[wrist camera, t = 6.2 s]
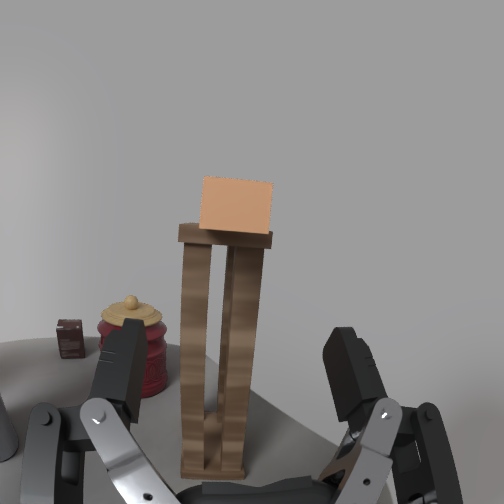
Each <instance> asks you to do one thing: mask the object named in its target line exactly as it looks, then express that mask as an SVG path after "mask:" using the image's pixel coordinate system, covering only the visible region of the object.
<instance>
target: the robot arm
mask: <svg viewBox="0 0 504 504" xmlns="http://www.w3.org/2000/svg"><path fill="white" fill-rule="evenodd" d="M147 355H148V340H147V335H146V330H145V325H144V321H143V320H142V319H133V318H125V319H124V321H123V325H122V329H121V330H115V329H112V331H111V332H110V333H109V334H108V335H107V337H106V338H105V340H104V343H103V347H102V352H101V354H100V358H99V361H98V365H97V369H96V373H95V377H94V381H93V385H92V389H91V393H90V395H89V397H88V399H87V400H86V401H85V402H84V403H83V404H81V405H79V406H76V407H68V408H56V407H55V406H53V405H52V404H49V403H40V404H37V405H36V406H35V407H34V408H33V409H32V411H31V414H30V418H29V424H28V429H27V435H26V441H25V448H24V456H23V465H22V476H21V492H20V504H83V479H84V460H85V451H95V450H97V452H98V454H99V455H100V457H101V459H102V460H103V462H104V464H105V466H106V468H107V472H108V475H109V477H110V479H111V480H112V482H113V483H114V485H115V486H116V488H117V489H118V491H119V492H120V494H121V495H122V497H123V498H124V499H125V501H126V502H127V504H376V502H377V500H378V498H379V496H380V494H381V491H382V489H383V487H384V484H385V482H386V479H387V477H388V475H389V472H390V469H391V468H392V473H393V478H394V484H395V489H396V495H397V501H398V504H463V500H462V495H461V490H460V485H459V480H458V476H457V471H456V467H455V464H454V460H453V455H452V452H451V448H450V444H449V441H448V437H447V435H446V431H445V428H444V424H443V421H442V418H441V415H440V412H439V410H438V408H437V407H436V406H435V405H434V404H432V403H427V402H426V403H423V404H421V405H420V406H419V407H418V408H411V407H403V406H400V405H399V404H398V403H397V402H396V401H395V400H393V399H391V398H388V396H387V394H386V392H385V389H384V386H383V383H382V380H381V378H380V375H379V372H378V369H377V367H376V364H375V361H374V359H373V356H372V353H371V351H370V349H369V346H367V344H366V343H365V342H364V341H363V339H362V338H357V336H356V333H355V331H354V329H353V328H352V327H336V328H334V330H333V332H332V333H331V335H330V337H329V339H328V341H327V342H326V344H325V346H324V348H323V361H324V365H325V369H326V373H327V377H328V380H329V384H330V388H331V392H332V396H333V400H334V404H335V408H336V412H337V416H338V420H339V422H343V421H348V425H349V428H348V430H347V431H346V434H345V436H344V438H343V440H342V442H341V444H340V446H339V448H338V450H337V452H336V454H335V455H334V457H333V459H332V461H331V462H330V463H329V465H328V466H327V467H326V468H325V469H324V470H323V472H322V473H321V475H320V477H319V478H318V480H312V479H311V476H305V477H298V478H289V479H284V480H281V481H278V482H275V483H272V484H269V485H266V486H263V487H252V486H247V485H241V484H236V483H231V482H202V485H197V486H193V487H190V488H188V489H185V490H183V491H181V492H180V493H178V494H177V495H176V494H175V492H174V491H173V490H172V489H171V488H170V486H169V485H168V484H167V483H166V481H165V480H164V479H163V478H162V476H161V475H160V474H159V472H158V471H157V470H156V469H155V467H154V466H153V465H152V463H151V462H150V461H149V459H148V458H147V456H146V455H145V453H144V452H143V451H142V449H141V448H140V446H139V445H138V443H137V442H136V440H135V439H134V437H133V436H132V434H131V432H130V423H137V424H138V417H139V408H140V401H141V394H142V387H143V380H144V373H145V367H146V361H147ZM415 440H416V443H417V446H416V443H415ZM17 447H18V437H17V435H16V433H15V430H14V428H13V426H12V423H11V421H10V418H9V416H8V413H7V410H6V408H5V405H4V402H3V400H2V397H1V394H0V462H1V461H4V460H6V459H8V458H10V457H11V456H12V455H13V454H14V453H15V452H16V450H17ZM417 447H418V451H419V455H420V459H421V463H420V459H419V455H418V451H417Z"/></svg>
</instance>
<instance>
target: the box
mask: <svg viewBox="0 0 504 504" xmlns="http://www.w3.org/2000/svg"><path fill="white" fill-rule="evenodd" d="M56 332H57V338H58V345H59V351H60V356H61V358H85V349H84V339H83V331H82V321H81V320H59V321H58V324H57V329H56Z"/></svg>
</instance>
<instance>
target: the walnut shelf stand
mask: <svg viewBox="0 0 504 504" xmlns="http://www.w3.org/2000/svg"><path fill="white" fill-rule="evenodd" d="M272 234H273V232H271V231H269V233H268V234H262V233H250V232H238V231H226V230H214V229H201V228H199V223H184V224H179V236H178V242H184V255H183V274H182V294H181V328H180V329H181V330H180V387H181V419H182V439H183V442H182V455H181V471H180V472H181V478H186V479H203V480H244V477H245V471H244V465H243V460H242V455H243V446H244V438H245V429H246V420H247V412H248V403H249V394H250V384H251V375H252V366H253V357H254V347H255V338H256V328H257V318H258V309H259V299H260V288H261V278H262V267H263V258H264V248H265V249H271V245H272ZM212 244H215V245H227V258H226V271H225V272H226V273H225V284H224V298H223V312H222V328H221V343H220V360H219V377H218V397H217V412H206V411H204V383H205V351H206V329H207V310H208V293H209V276H210V263H211V249H212Z"/></svg>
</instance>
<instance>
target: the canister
mask: <svg viewBox="0 0 504 504" xmlns="http://www.w3.org/2000/svg"><path fill="white" fill-rule="evenodd" d="M101 317H102V319H103V320H102V321H100V322H99V324H98V327H97V328H98V331H99V333H100V334H101V339H100V341H99V348H100V351H101V352H102V347H103V343H104V340H105V338H106V337H107V335H108V334H109V333H110V332H111V331H112V329H115V330H121V329H122V325H123V321H124V319H125V318H133V319H142V320H143V321H144V325H145V330H146V335H147V340H148V355H147V361H146V367H145V373H144V380H143V387H142V394H141V398H145V397H150V396H153V395H155V394H157V393H159V392H161V391H162V390H163V389H164V388H165V386H166V381H167V369H166V348H167V343H166V341H165V340H164V334H165V333H166V331H167V327H166V325H165V324H164V323H163V322H162V321H160V320H161V319H162V314H161V313H160V312H159V311H158V310H156V309H154V308H153V307H152V306H151V305H148V304H145V303H140V302H138V299H137V298H136V297H135V296H132V295H129V296H127V297H126V298H125V300H124V302H119V303H114V304H112V305H110V306H109V307H108V308H107V309H105V310H103V311H102V313H101Z"/></svg>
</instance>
